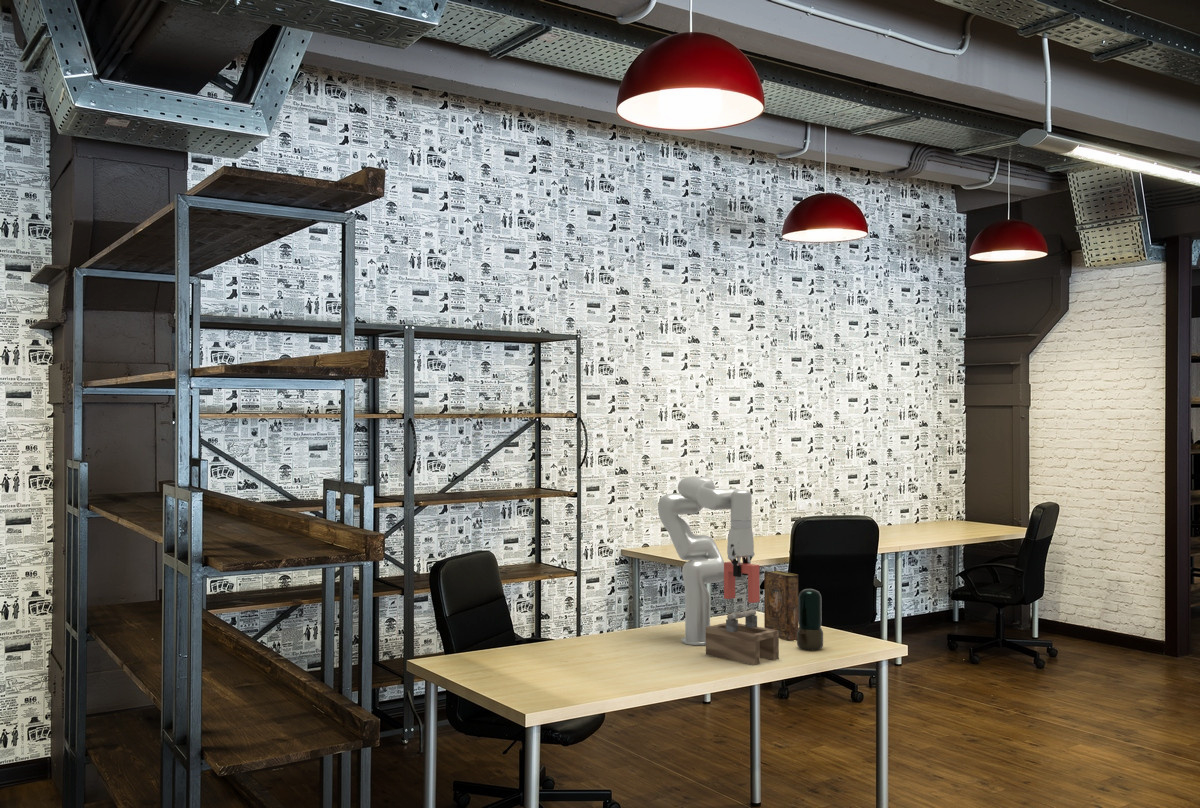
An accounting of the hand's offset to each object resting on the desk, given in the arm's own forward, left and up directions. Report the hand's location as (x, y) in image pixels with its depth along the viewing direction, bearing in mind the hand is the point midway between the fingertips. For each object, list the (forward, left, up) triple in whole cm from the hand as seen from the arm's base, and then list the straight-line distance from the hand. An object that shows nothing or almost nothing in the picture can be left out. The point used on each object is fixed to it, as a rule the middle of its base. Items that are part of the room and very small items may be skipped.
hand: (741, 575), depth 358 cm
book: (-39, -11, -29) cm, 50 cm away
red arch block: (0, 0, -9) cm, 9 cm away
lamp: (-29, +9, -29) cm, 42 cm away
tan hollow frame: (0, 0, -29) cm, 29 cm away
